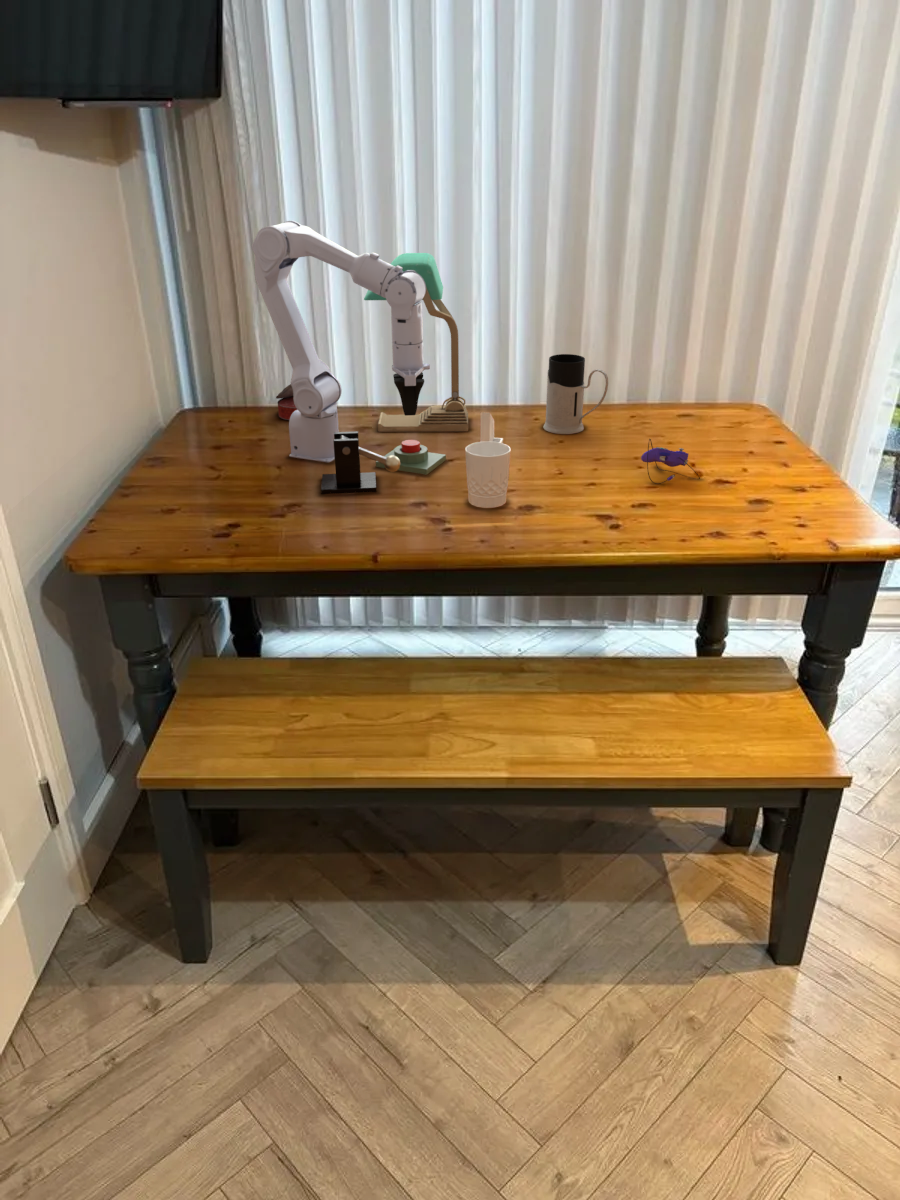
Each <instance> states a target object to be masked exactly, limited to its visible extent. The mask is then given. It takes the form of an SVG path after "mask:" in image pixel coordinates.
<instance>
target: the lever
mask: <svg viewBox="0 0 900 1200" xmlns="http://www.w3.org/2000/svg"><path fill="white" fill-rule="evenodd" d="M340 439H351V438H348V437H346V436H343V435H342V436H341V438H340ZM359 455H360V456H363V457H365V458H368V459H370V460H372V461H375V462H376V461H378V462H380V463H383V464H384V466H385V468H384V469H386V471H388V472H390V473H393V472H394V473H395V472H397V471H399V470H398V469H399V467H400V460H399V458H398V457H396V456H394V455H391V456H388V457H387V458H386V457H384V456H385V455H380V454H378V453H376V452H373V451H371V450H369V449H366V448H363V447H360V446H359Z"/></svg>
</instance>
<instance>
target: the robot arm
mask: <svg viewBox="0 0 900 1200" xmlns="http://www.w3.org/2000/svg"><path fill="white" fill-rule="evenodd" d="M251 250H252V252H253V255H254V278H255V283H256V285H257V287H258V290H259V292H260V295H261V297H262V299H263V301H264V304H265V306H266V309H267V311H268V313H269V316H270V319H271V321H272V323H273V325H274V327H275V330H276V333H277V334H278V337H279V340H280V342H281V344H282V347H283V350H284V352H285V354H286V356H287V358H288V361H289V363H290V366H291V368H292V374H291V378H290V384H291V386H292V388H293V393H294V398H293V399H294V404H295V406H296V408H297V409H298V410H295V411H294V412H293V413H292V415H291V417H290V420H288V433H289V443H290V444H289V445H290V454H289V457H290V458H297V459H301V460H303V459H304V460H309V461H316V462H322V463H332V462H333V461H335V456H334V442H333V441H334V432H340V430H339V429H340V427H339V414H338V413H339V412H338V405H337V404H338V401H339V400H340V399H341V397H342V390H343V389H342V385H341V383H340V381H339V380H338V378H337V377H336V376H335V375H334V374H333V373H332V371H331V369H330V367H329V365H328V364H327V363H326V362H324V361H323V360H321V359H320V358H319V356H318V353H317V351H316V349H315V348H316V347H315V346H314V343H313V341H312V338H311V336H310V333H309V331H308V328H307V326H306V324H305V320H304V319H303V316H302V314H301V312H300V309H299V307H298V304H297V302H296V299H295V296H294V295H293V292H292V290H291V289H292V288H291V286H290V284H289V282H288V277H289V275H290V273H291V270H292V268H293V266H294V264H295V263H296V262H297V260H298V259H299V258H306V257H312V258H315V259H317V260H319V261H321V262H324V263H327V264H328V265H331V266H333V267H335V268H338V269H340V270H342V271H344V272H347V273H349V275H350V277H351V279H352V281H353V283H354V284H355V285H358V286H360V287H362V288H363V289H366V290H367V291H368V290H370V291H372V292H374V293H376V294H378V295H380V296H382V297H384V298H386V300H385V301H386V302H387V303H388V305H389V306H390V315H391V316H390V318H391V320H390V321H391V349H392V365H391V369H392V372H393V373H394V374H392V375H393V382H394V385H395V387H396V389H397V391H398V393H399V394H398V395H399V397H400V401H401V402H400V403H401V406H402V411H403V415H405V416H408V415H417V411H418V404H419V403H418V402H419V398H420V394H421V392H422V389H423V386H424V384H425V378H424V373H423V372H424V371H427V370H430V369H431V365H430V363H425V362H424V325H423V324H424V322H423V321H424V319H423V300H422V299H423V297H424V296H425V293H426V284H425V281H424V279H423V278H422V277H421V276H420V275H419V274H418V273H416V272H415V271H414V270H407V271H404V272H403V271H402V267H400V266H396V267H395V266H393V265H391V263H389V262H387V261H384V260H383V259H380V254H378V253H376V252H371V253H368V252H364V253H361V254H360V255H357V254H356V253H354V252H352V251H350V250H348V249H347V248H345V247H343V246H341V245H339V244H338V243H336V242H334V241H332V240H331V239H329V238H327V237H325V236H324V235H322V234H320V233H318V232H317V231H315V230H314V229H313V228H311V227H310V226H308V225H304V224H303V225H302V224H300V223H299V222H298V221H296V220H285V221H283V222H282V223H277V224H274V225H267V226H264V227H262V228H260V229H259V230H258V232H257V233H256V236H255V238H254V240H253V242H252V244H251Z"/></svg>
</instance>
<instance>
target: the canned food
mask: <svg viewBox="0 0 900 1200" xmlns="http://www.w3.org/2000/svg"><path fill="white" fill-rule="evenodd" d="M293 398H294V393H293V388H292V386H291V383H290V384H288V385H286V387H284V388H283V389H282V391H280V392H279V393H277V395H276V396H275V399H276V400H277V399H278V401H277V402H276V403H277V410H278V411H277V412H278V417H279V418H280V419H282V420H285V421H290V417H291V415H292V413H293V412H294V411H295V410H298V409H297V408H296V406H295V404H294V399H293Z"/></svg>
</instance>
